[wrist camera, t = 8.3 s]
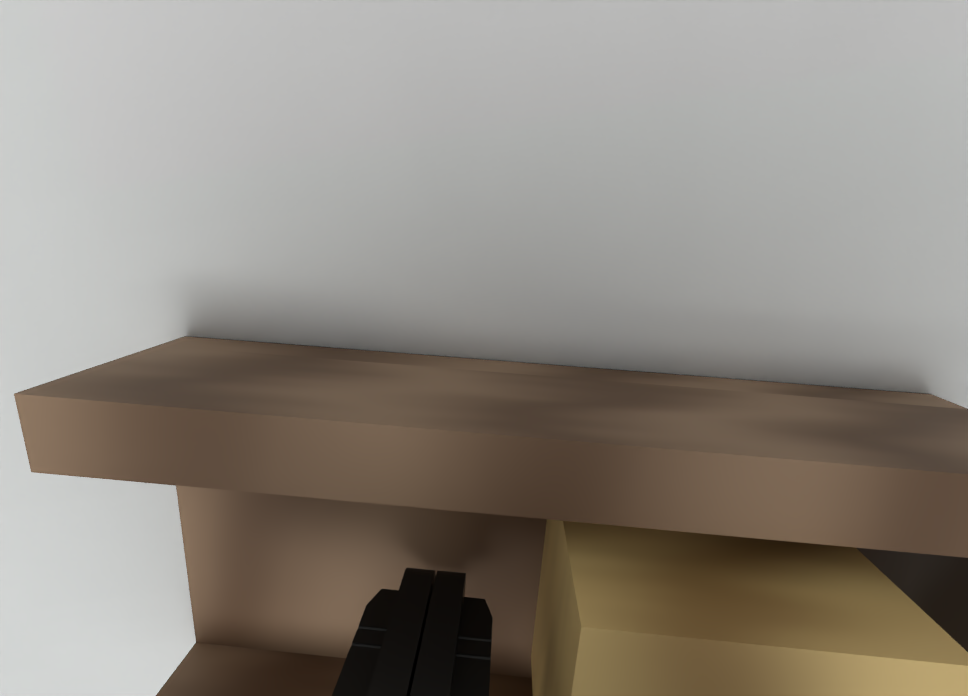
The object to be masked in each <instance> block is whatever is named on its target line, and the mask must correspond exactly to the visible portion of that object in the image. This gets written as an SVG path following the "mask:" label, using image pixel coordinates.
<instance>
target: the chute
mask: <svg viewBox="0 0 968 696" xmlns="http://www.w3.org/2000/svg"><path fill="white" fill-rule="evenodd" d="M14 396H15V400H16V405H17V409H18V414H19V419H20V423H21V428H22V432H23V437H24V441H25V446H26V450H27V455H28V459H29V464H30V468H31V472H36V473H47V474H58V475H69V476H80V477H91V478H102V479H113V480H123V481H134V482H145V483H156V484H167V485H176V489H177V496H178V504H179V512H180V520H181V527H182V535H183V543H184V551H185V559H186V566H187V574H188V582H189V590H190V598H191V605H192V613H193V621H194V629H195V636H196V644H195V645H194V646H193V647H192V649H191V650H190V651H189V653H188V654H187V655H186V657H185V658H184V659H183V661H182V662H181V663H180V665H179V666H178V667H177V669H176V670H175V671H174V672H173V674H172V675H171V676H170V678H169V679H168V680H167V682H166V683H165V684H164V686H163V687H162V688H161V690H160V691H159V692H158V694H157V695H156V696H332V694H333V691H334V688H335V686H336V683H337V681H338V678H339V675H340V673H341V670H342V668H343V665H344V662H345V660H346V657H347V654H348V652H349V649H350V647H351V646H352V641H353V639H354V636H355V634H356V631H357V629H358V627H359V623H360V621H361V618H362V615H363V613H364V610H365V607H366V605H367V604H368V603H369V602H370V601H371V599H372V598H373V597H374V596H375V595H376V594H377V593H378V592H379V591H380V590H381V589H390V590H399V588H400V585H401V581H402V578H403V575H404V572H405V569H406V568H417V569H427V570H435V571H436V573H437V571H438V570H439V571H449V572H459V573H466V584H465V597H471V598H481V599H485V600H486V603H487V605H488V607H489V610H490V612H491V615H492V617H493V623H492V642H491V643H492V644H491V665H490V686H489V696H533V691H532V668H531V653H532V644H533V635H534V626H535V618H536V609H537V600H538V592H539V583H540V574H541V565H542V557H543V548H544V539H545V531H546V522H547V519H549V520H560V521H571V522H582V523H593V524H604V525H615V526H626V527H637V528H648V529H658V530H669V531H680V532H691V533H702V534H713V535H724V536H735V537H746V538H757V539H768V540H779V541H790V542H800V543H811V544H822V545H833V546H844V547H855V548H857V549H858V550H859V551H860V552H861V553H862V554H863V555H864V556H865V557H866V558H867V559H868V560H869V561H871V562H872V563H873V564H874V565H875V566H876V567H877V568H878V569H879V570H880V571H881V572H882V573H883V574H884V575H886V576H887V577H888V578H889V579H890V580H891V581H892V582H893V583H894V584H895V585H896V586H897V587H898V588H899V589H901V590H902V591H903V592H904V593H905V594H906V595H907V596H908V597H909V598H910V599H911V600H912V601H913V602H914V603H916V604H917V605H918V606H919V607H920V608H921V609H922V610H923V611H924V612H925V613H926V614H927V615H928V616H929V617H931V618H932V619H933V620H934V621H935V622H936V623H937V624H938V625H939V626H940V627H941V628H942V629H943V630H944V631H946V632H947V633H948V634H949V635H950V636H951V637H952V638H953V639H954V640H955V641H956V642H957V643H958V644H959V645H961V646H962V647H963V648H964V649H965V650H966V651H967V652H968V409H966V408H964V407H961V406H959V405H956V404H954V403H951V402H949V401H946V400H944V399H941V398H939V397H936V396H934V395H931V394H920V393H907V392H894V391H881V390H869V389H856V388H843V387H830V386H817V385H804V384H791V383H779V382H766V381H753V380H740V379H727V378H714V377H701V376H688V375H676V374H663V373H650V372H637V371H624V370H611V369H598V368H586V367H573V366H560V365H547V364H534V363H521V362H508V361H496V360H483V359H470V358H457V357H444V356H431V355H418V354H406V353H393V352H380V351H367V350H354V349H341V348H328V347H316V346H303V345H290V344H277V343H264V342H251V341H238V340H225V339H213V338H200V337H187V336H185V337H182V338H179V339H176V340H173V341H170V342H167V343H164V344H161V345H158V346H155V347H152V348H149V349H146V350H143V351H140V352H137V353H134V354H131V355H128V356H125V357H122V358H119V359H116V360H113V361H110V362H107V363H104V364H101V365H98V366H95V367H92V368H89V369H86V370H83V371H80V372H77V373H75V374H72V375H69V376H66V377H63V378H60V379H57V380H54V381H51V382H48V383H45V384H42V385H39V386H36V387H33V388H30V389H27V390H24V391H21V392H18V393H15V394H14Z"/></svg>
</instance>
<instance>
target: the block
mask: <svg viewBox="0 0 968 696" xmlns="http://www.w3.org/2000/svg"><path fill="white" fill-rule="evenodd" d="M531 668H532V691H533V696H968V652H967V651H966V650H965V649H964V648H963V647H962V646H961V645H959V644H958V643H957V642H956V641H955V640H954V639H953V638H952V637H951V636H950V635H949V634H948V633H947V632H946V631H944V630H943V629H942V628H941V627H940V626H939V625H938V624H937V623H936V622H935V621H934V620H933V619H932V618H931V617H929V616H928V615H927V614H926V613H925V612H924V611H923V610H922V609H921V608H920V607H919V606H918V605H917V604H916V603H914V602H913V601H912V600H911V599H910V598H909V597H908V596H907V595H906V594H905V593H904V592H903V591H902V590H901V589H899V588H898V587H897V586H896V585H895V584H894V583H893V582H892V581H891V580H890V579H889V578H888V577H887V576H886V575H884V574H883V573H882V572H881V571H880V570H879V569H878V568H877V567H876V566H875V565H874V564H873V563H872V562H871V561H869V560H868V559H867V558H866V557H865V556H864V555H863V554H862V553H861V552H860V551H859V550H858V549H857V548H855V547H844V546H833V545H822V544H811V543H800V542H790V541H779V540H768V539H757V538H746V537H735V536H724V535H713V534H702V533H691V532H680V531H669V530H658V529H648V528H637V527H626V526H615V525H604V524H593V523H582V522H571V521H560V520H549V519H547V522H546V531H545V539H544V548H543V557H542V565H541V574H540V583H539V592H538V600H537V609H536V618H535V626H534V635H533V644H532V653H531Z"/></svg>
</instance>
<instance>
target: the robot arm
mask: <svg viewBox="0 0 968 696" xmlns="http://www.w3.org/2000/svg"><path fill="white" fill-rule="evenodd" d="M465 584H466V573H459V572H449V571H439V570H438V571H437V573H436V571H435V570H427V569H417V568H406V569H405V572H404V575H403V578H402V581H401V585H400V588H399V590H390V589H381V590H380V591H379V592H378V593H377V594H376V595H375V596H374V597H373V598H372V599H371V601H370V602H369V603H368V604H367V605H366V607H365V610H364V613H363V615H362V618H361V621H360V623H359V627H358V629H357V631H356V634H355V636H354V639H353V641H352V646H351V647H350V649H349V652H348V654H347V657H346V660H345V662H344V665H343V668H342V670H341V673H340V675H339V678H338V681H337V683H336V686H335V688H334V691H333V694H332V696H489V686H490V665H491V644H492V643H491V642H492V623H493V617H492V615H491V612H490V610H489V607H488V605H487V603H486V600H485V599H481V598H471V597H465Z"/></svg>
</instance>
